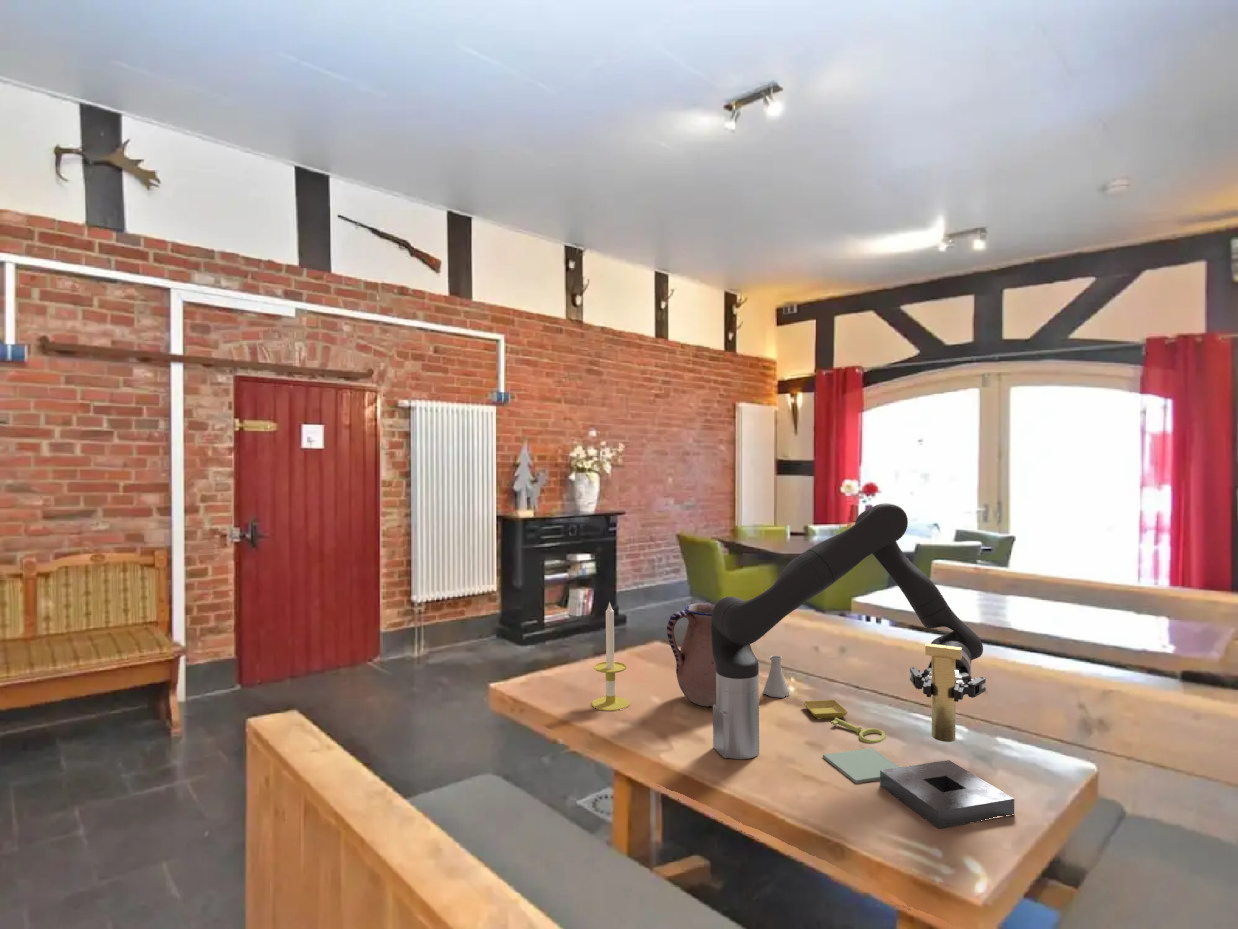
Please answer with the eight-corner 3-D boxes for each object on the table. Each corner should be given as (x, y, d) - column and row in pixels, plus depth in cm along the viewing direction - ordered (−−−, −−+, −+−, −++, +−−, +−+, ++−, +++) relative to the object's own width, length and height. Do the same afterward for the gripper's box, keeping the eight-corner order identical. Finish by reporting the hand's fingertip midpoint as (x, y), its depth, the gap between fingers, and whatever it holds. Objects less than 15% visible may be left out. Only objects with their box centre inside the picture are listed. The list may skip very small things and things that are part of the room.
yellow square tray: (814, 722, 165) (814, 713, 165) (802, 709, 174) (802, 700, 174) (848, 720, 166) (848, 712, 166) (835, 707, 174) (835, 699, 174)
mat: (856, 783, 133) (856, 780, 133) (822, 757, 145) (822, 754, 145) (908, 775, 136) (908, 772, 136) (871, 750, 148) (871, 748, 148)
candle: (626, 712, 172) (625, 606, 171) (587, 710, 173) (586, 605, 173) (632, 698, 181) (631, 597, 181) (596, 696, 183) (594, 596, 183)
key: (833, 725, 163) (833, 716, 163) (887, 736, 157) (887, 727, 156) (825, 736, 157) (825, 726, 157) (881, 748, 150) (881, 738, 150)
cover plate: (938, 829, 117) (938, 811, 117) (880, 785, 132) (880, 770, 132) (1014, 815, 121) (1014, 798, 121) (949, 775, 136) (949, 760, 136)
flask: (784, 700, 179) (784, 662, 179) (758, 695, 183) (758, 658, 183) (793, 692, 185) (793, 655, 185) (767, 687, 189) (767, 651, 189)
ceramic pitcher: (758, 704, 176) (757, 608, 176) (696, 722, 164) (695, 619, 164) (712, 685, 191) (711, 596, 190) (652, 701, 179) (651, 607, 179)
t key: (924, 738, 126) (924, 647, 126) (927, 730, 130) (927, 641, 130) (960, 744, 123) (960, 651, 123) (962, 736, 127) (962, 646, 126)
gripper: (912, 645, 142) (900, 667, 127) (989, 654, 135) (986, 680, 120) (912, 680, 142) (900, 707, 128) (989, 692, 135) (986, 722, 120)
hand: (942, 694), depth 124 cm, fingers closed on t key, 4 cm apart
